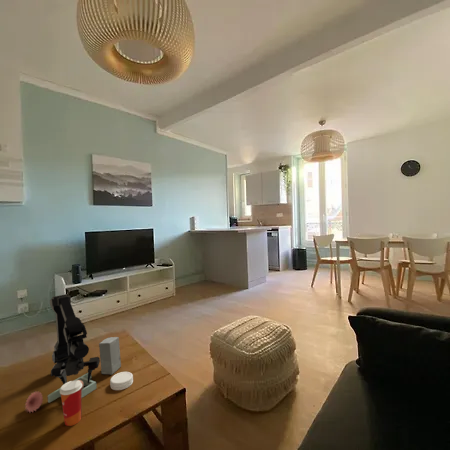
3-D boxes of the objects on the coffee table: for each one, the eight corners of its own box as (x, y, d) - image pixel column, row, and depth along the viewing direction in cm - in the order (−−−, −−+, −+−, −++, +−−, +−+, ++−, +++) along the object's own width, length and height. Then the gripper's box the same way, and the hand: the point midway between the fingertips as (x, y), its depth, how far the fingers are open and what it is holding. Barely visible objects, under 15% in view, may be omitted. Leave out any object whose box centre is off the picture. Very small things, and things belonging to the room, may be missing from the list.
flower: (41, 386, 120) (32, 386, 115) (52, 398, 117) (43, 398, 112) (27, 405, 117) (16, 405, 112) (37, 417, 114) (27, 418, 109)
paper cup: (67, 414, 110) (65, 380, 109) (87, 412, 110) (85, 378, 110) (57, 429, 102) (55, 392, 102) (78, 427, 103) (76, 390, 102)
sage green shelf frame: (47, 402, 118) (47, 395, 118) (90, 377, 136) (89, 371, 136) (63, 409, 113) (62, 402, 113) (105, 383, 130) (104, 376, 130)
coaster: (137, 380, 132) (137, 373, 131) (121, 393, 122) (121, 385, 122) (122, 376, 136) (121, 369, 136) (105, 388, 127) (105, 380, 127)
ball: (73, 389, 126) (72, 379, 126) (85, 387, 127) (84, 376, 127) (70, 396, 121) (69, 385, 121) (82, 393, 122) (81, 382, 122)
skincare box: (112, 375, 137) (110, 343, 136) (99, 374, 138) (97, 343, 138) (122, 366, 145) (120, 336, 145) (109, 365, 146) (108, 335, 146)
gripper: (45, 363, 113) (47, 400, 114) (94, 355, 119) (96, 390, 119) (54, 351, 124) (56, 385, 125) (98, 343, 129) (100, 376, 130)
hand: (77, 384), depth 124 cm, fingers open, 9 cm apart
